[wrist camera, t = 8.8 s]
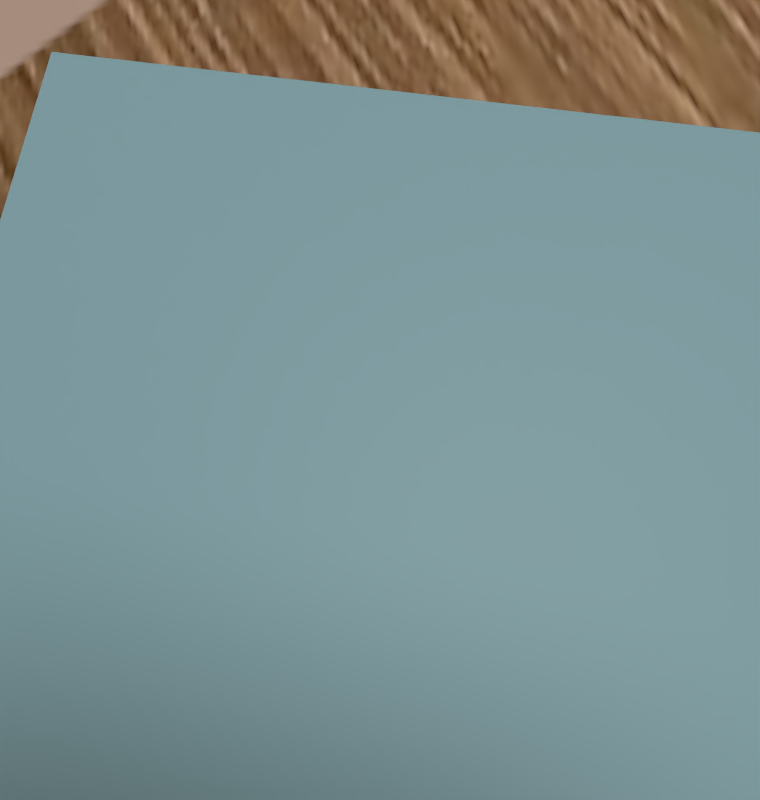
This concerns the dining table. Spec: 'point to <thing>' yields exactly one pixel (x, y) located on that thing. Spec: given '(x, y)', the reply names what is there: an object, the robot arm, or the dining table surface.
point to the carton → (375, 447)
